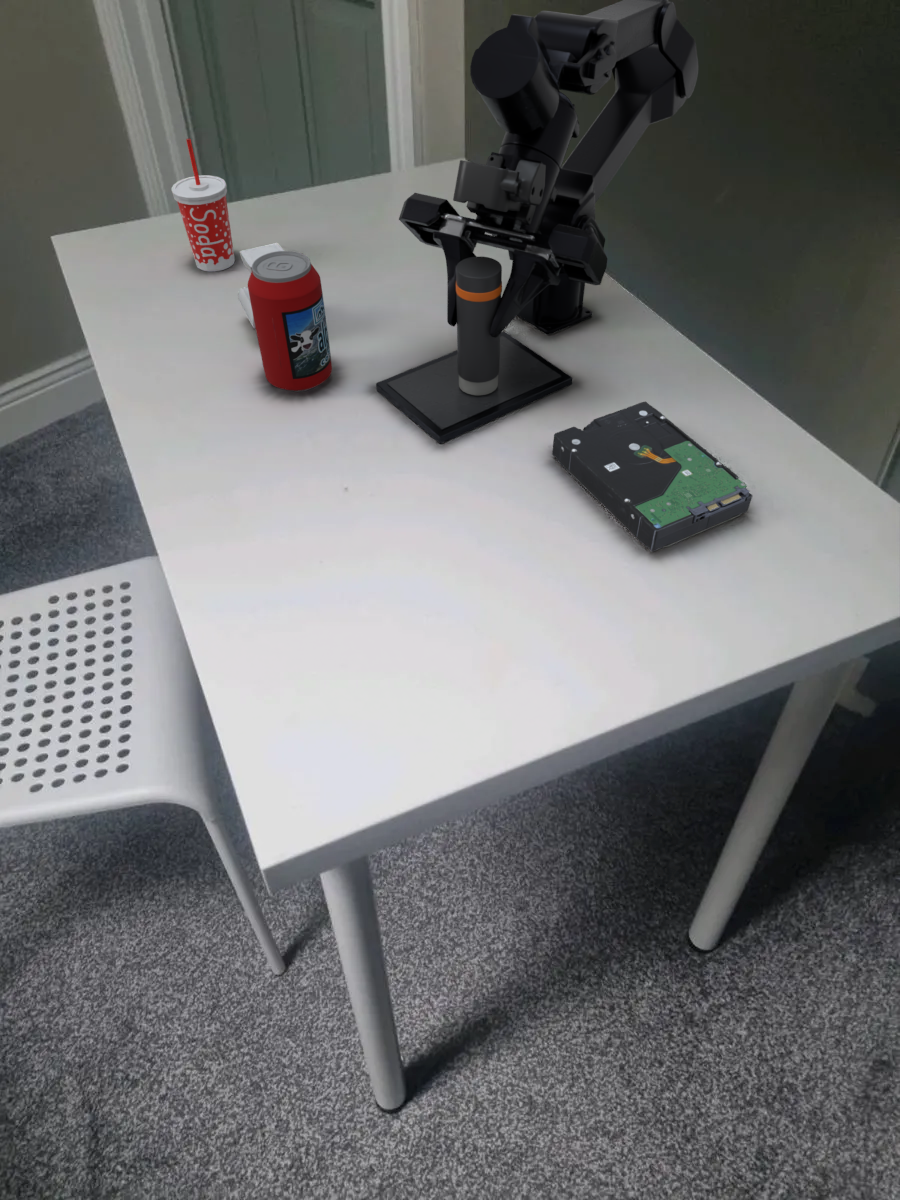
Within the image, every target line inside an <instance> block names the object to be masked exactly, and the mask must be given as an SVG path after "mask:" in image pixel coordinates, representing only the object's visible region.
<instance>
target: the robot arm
mask: <svg viewBox="0 0 900 1200" xmlns="http://www.w3.org/2000/svg"><path fill="white" fill-rule="evenodd" d="M469 67H470V69H469V70H470V78H471V82H472V84H473V86H474V88H475V90H476V92H477V93H478V94H479V96H480V98H481V100H483V102H484V105H486V108H487V109H488V110H489V112H490V114H491V115H492V117H493V119H494V121H495V122H496V123H497V125H498V126H499V127H500V128H501V129H502V130H503V131H504V132H505V133H504V136H503V139H502V141H501V144H500V147H499V150H498V152H494V151H491V152H490V155H489V156H488V158H487V161H486V163H485V164H482V163H478V162H472V161H468V160H462V159H460V160H459V164H458V169H457V176H456V181H455V187H454V193H453V198H452V201H453V202H456V203H461V204H466V208H467V210H468V211H469V212H470V213H472V214H475V215H476V218H471V217H466V216H462V215H460V214H459V212H458V211H457V210H456V208H455V207H454V206H453V205H452V204H451V202H450V201H449V200H448V199H445V198H441V197H437V196H431V195H427V194H423V193H419V192H414V193H413V194H411V195H410V196H409V197H408V198H406V199H405V201H404V202H403V205H402V208H401V211H400V215H399V217H398V221H400V223H402V224H403V226H405V228H406V229H407V230H408V231H409V232H410V233H411V234H412V235H413V236H414V237H415V238H416V239H417V240H418V241H419V242H420V243H422V244H423V245H425V246H426V245H427V246H431V247H434V248H438V249H442V251H443V254H444V257H445V263H446V264H445V265H446V274H447V275H446V276H447V278H446V279H447V293H446V295H447V297H446V298H447V299H446V301H447V303H446V304H447V307H446V308H447V310H446V311H447V315H446V317H447V319H446V320H447V324H448V325H449V326H451V327H452V328H453V327H456V326H457V293H456V266H457V264H458V263H459V262H460V261H462V260H464V259H466V258H470V257H478V256H477V255H476V254H475V253H474V251H475V248H476V247H477V244H478V245H479V244H480V245H483V246H488V247H493V248H496V249H497V248H498V249H500V250H504V251H508V257H509V260H510V261H512V264H511V272H510V275H509V277H508V280H507V282H506V284H505V287H504V290H503V291H502V292H503V293H502V294H501V300H500V302H499V305H498V307H497V310H496V312H495V315H494V317H493V321H492V325H491V328H490V332H489V334H490V335H491V336H492V337H494V338H496V337H498V335H499V334H500V333H501V332H503V331H504V330H505V329H506V328H507V327H508V326H509V325H510V324H511V323H512V322H513V320H514V319H515V318H516V317H519V318H520V319H522V320H523V321H525V322H527V324H529V325H531V326H532V327H534V328H535V329H537V330H539V331H540V332H541V333H543V334H545V335H553V334H555V333H557V332H560V331H562V330H565V329H568V328H569V327H572V326H574V325H576V324H579V323H582V322H584V321H586V320H588V319H591V318H592V317H593V311H592V310H591V309H589V308H587V307H585V306H584V299H585V288H586V284H588V285H592V286H600V285H601V284H602V281H603V279H604V276H605V273H606V270H607V268H608V267H607V265H608V256H607V254H606V252H605V250H604V247H605V245H606V238H605V236H604V234H603V232H602V230H601V228H600V227H599V225H598V223H597V221H596V204H597V202H598V201H599V199H600V198H601V196H602V195H603V193H604V192H605V190H606V189H607V188H608V186H609V184H610V183H611V182H612V180H613V178H614V177H615V175H617V173H618V171H619V170H620V168H621V167H622V165H623V164H624V162H625V161H626V160H627V158H628V157H629V155H630V153H631V152H633V151H632V150H633V149H634V147H635V146H636V145H637V144H638V142H639V141H640V139H641V137H642V136H643V135H644V133H645V132H646V130H647V129H648V127H649V126H650V125H654V124H656V123H658V122H661V121H664V120H667V119H670V118H672V117H673V116H674V115H676V113H677V112H678V111H679V110H680V109H681V107H683V105H684V104H685V102H686V101H687V99H690V98H691V96H692V95H693V93H694V91H695V89H696V84H697V81H698V76H699V59H698V51H697V44H696V40H695V38H693V35H691V33H690V32H689V31H688V30H687V29H686V28H685V26H684V25H683V24H682V22H681V21H679V19H678V17H677V10H676V5H675V2H673V1H669V0H620V1H618V2H615V3H613V4H610V5H607V6H604V7H602V8H599V9H596V10H595V11H591V12H590V13H587V14H583V15H581V14H574V13H566V12H558V11H550V10H541V11H540V12H538V13H537V14H536V15H535V16H530V15H523V14H515V13H512V14H511V15H510V17H509V19H508V23H507V26H506V27H504V28H501V29H499V30H497V31H494V32H493V33H491V34H490V35H488V37H487V38H485V39H484V40H483V42H481V44H480V45H479V47H478V48H476V49H475V50H474V52H473V55H472V57H471V60H470V66H469ZM612 76H613V80H614V93H613V95H612V97H611V98H610V99H609V100H608V102H607V103H606V104H605V106H604V107H603V109H602V110H601V112H600V113H599V114H598V115H597V117H596V118H595V120H594V121H593V123H592V124H591V125H590V127H588V130H586V132H585V134H584V135H583V136H582V138H581V139H580V140H579V142H578V144H577V145H576V146H575V147H574V149H573V150H572V152H571V153H570V154H569V156H568V157H567V159H566V160H565V162H564V159H565V158H566V155H567V152H568V149H569V146H570V143H571V140H572V138H573V139H577V138H578V137H579V135H580V122H579V117H578V114H577V111H576V105H575V104H574V103H572V101H571V100H570V98H569V97H568V96H567V95H566V94H565V93H563V92H562V91H566V92H571V93H577V94H583V95H588V96H592V95H595V94H596V93H598V91H600V89H601V88H602V87H604V86H605V85H606V84H607V83H608V82H609V81H610V80H611V79H612Z"/></svg>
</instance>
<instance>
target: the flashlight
mask: <svg viewBox="0 0 900 1200" xmlns="http://www.w3.org/2000/svg"><path fill="white" fill-rule="evenodd" d="M502 274H503V266H502V264H501V263H500V262H499V261H498V260H497V259H494V258H492V257H488V256H477V257H470V258H466V259H464V260H462V261H460V262H459V263H458V264H457V266H456V293H457V323H456V347H457V349H456V351H457V361H458V374H459V387H460V389H461V390H462V391H463V392H465V393H467V394H470V395H486V394H489V393H491V392H493V391H494V390H496V388H497V386H498V374H499V361H500V334H499V335H498V337H496V338H494V337H492V336H491V335H490V334H489V332H490V328H491V325H492V321H493V317H494V315H495V312H496V310H497V307H498V305H499V302H500V300H501V297H502V292H503V281H502V278H503V277H502V276H503V275H502Z"/></svg>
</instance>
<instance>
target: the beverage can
mask: <svg viewBox="0 0 900 1200" xmlns="http://www.w3.org/2000/svg"><path fill="white" fill-rule="evenodd" d="M247 287H248V291H249V296H250V302H251V307H252V312H253V317H254V322H255V328H256V330H255V331H256V336H257V342H258V347H259V352H260V357H261V363H262V367H263V371H264V375H265V378H266V380H267V381H268V383H269V384H270V385H272V386H273V387H276V388H278V389H280V390H285V391H288V392H304V391H309V390H311V389H314V388H317V387H318V386H319V385H321V384H323V383H324V382H325V381H327V380H328V379H329V377H330V376H331V374H332V372H333V364H332V356H331V347H330V340H329V339H330V338H329V330H328V323H327V316H326V315H327V314H326V309H325V308H326V307H325V301H324V295H323V294H324V293H323V289H322V281H321V276H320V273H319V272H318V271H317V269H316V268H315V267H314V265H313V264H312V262H311V259H310V258H309V256H308V255H306V254H304V253H302V252H300V251H294V250H284V251H276V252H271V253H268V254H265V255H263V256H261V257H259V258H257V259H256V260H255V261H254V262H253V264H252V272H251V273H250V275H249V278H248V281H247Z"/></svg>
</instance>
